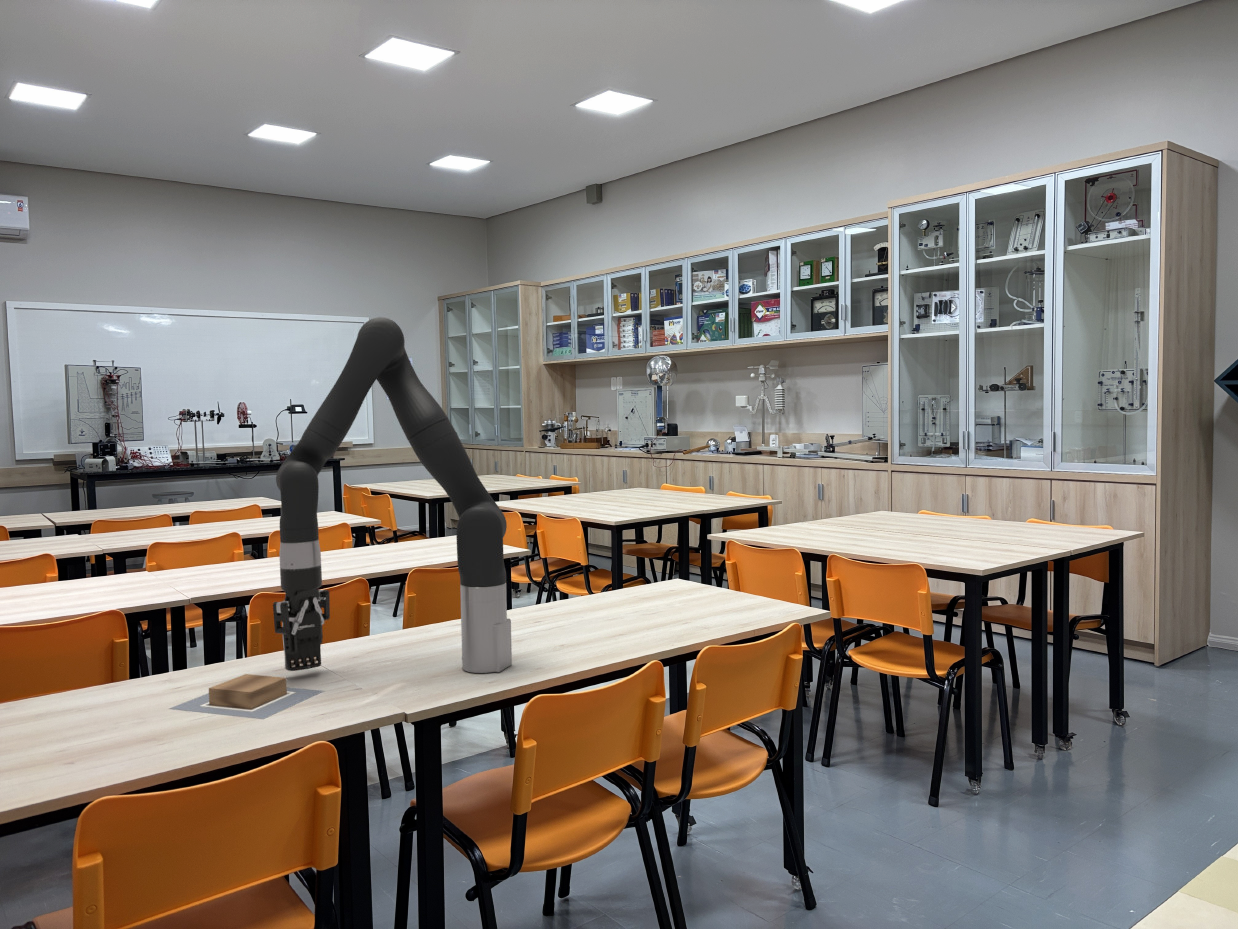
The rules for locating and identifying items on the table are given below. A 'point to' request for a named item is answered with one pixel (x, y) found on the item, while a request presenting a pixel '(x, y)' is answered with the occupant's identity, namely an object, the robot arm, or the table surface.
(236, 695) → the base block
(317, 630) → the battery charger
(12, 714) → the table surface
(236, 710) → the board
